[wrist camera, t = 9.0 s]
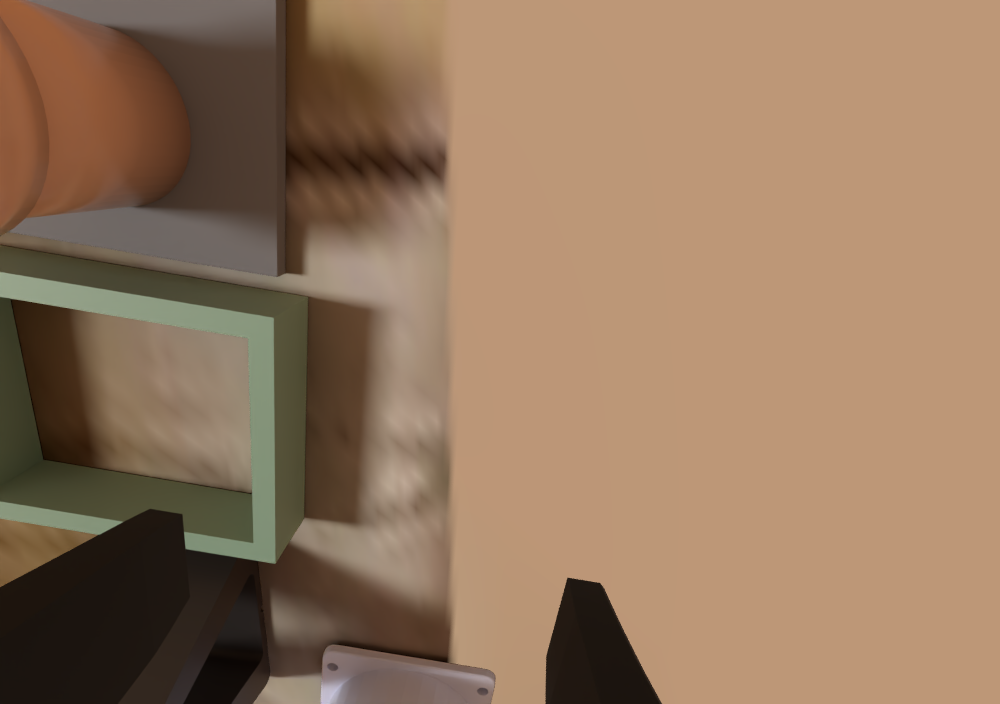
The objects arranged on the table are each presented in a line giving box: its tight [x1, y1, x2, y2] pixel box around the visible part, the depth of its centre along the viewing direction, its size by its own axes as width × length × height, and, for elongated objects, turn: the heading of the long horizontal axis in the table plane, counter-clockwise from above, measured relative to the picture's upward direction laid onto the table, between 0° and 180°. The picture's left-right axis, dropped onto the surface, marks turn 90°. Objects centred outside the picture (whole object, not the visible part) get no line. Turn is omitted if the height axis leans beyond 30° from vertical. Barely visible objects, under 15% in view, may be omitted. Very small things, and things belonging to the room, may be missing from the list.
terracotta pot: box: [0, 0, 191, 236], centre depth 12 cm, size 6×6×6 cm
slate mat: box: [8, 0, 286, 277], centre depth 15 cm, size 9×10×1 cm
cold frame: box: [0, 245, 308, 564], centre depth 18 cm, size 10×12×2 cm
